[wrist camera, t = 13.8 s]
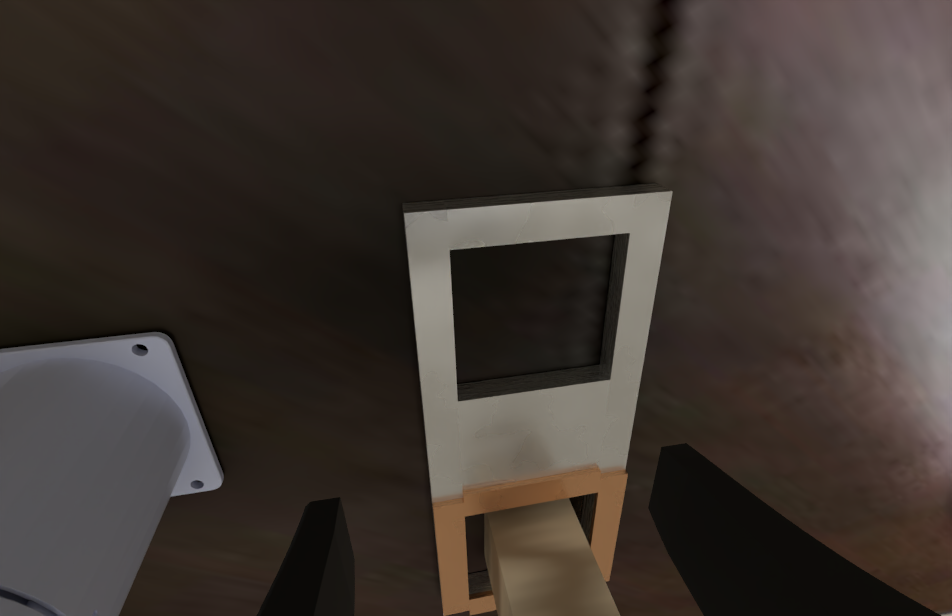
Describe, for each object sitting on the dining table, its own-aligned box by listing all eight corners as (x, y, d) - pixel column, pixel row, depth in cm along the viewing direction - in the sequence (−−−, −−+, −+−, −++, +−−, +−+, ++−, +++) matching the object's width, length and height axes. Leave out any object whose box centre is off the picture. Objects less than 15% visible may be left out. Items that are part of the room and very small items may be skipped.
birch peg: (484, 554, 28) (521, 719, 22) (484, 501, 26) (525, 665, 19) (558, 541, 29) (617, 695, 22) (564, 488, 27) (631, 641, 20)
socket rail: (440, 595, 29) (444, 620, 28) (401, 203, 18) (404, 216, 17) (598, 563, 31) (608, 586, 30) (656, 182, 19) (677, 193, 18)
